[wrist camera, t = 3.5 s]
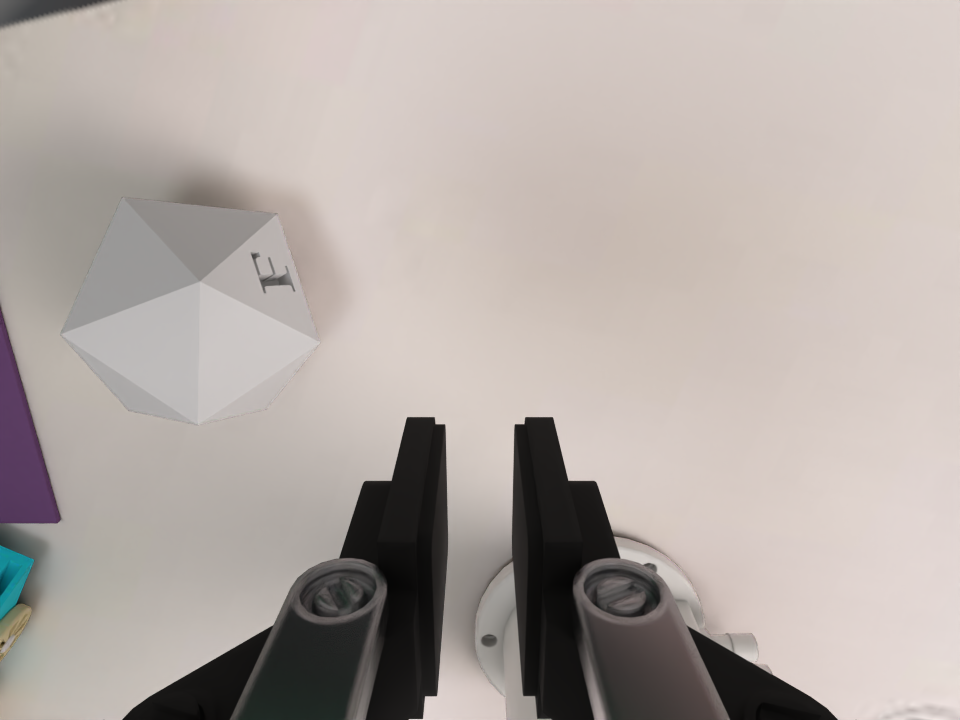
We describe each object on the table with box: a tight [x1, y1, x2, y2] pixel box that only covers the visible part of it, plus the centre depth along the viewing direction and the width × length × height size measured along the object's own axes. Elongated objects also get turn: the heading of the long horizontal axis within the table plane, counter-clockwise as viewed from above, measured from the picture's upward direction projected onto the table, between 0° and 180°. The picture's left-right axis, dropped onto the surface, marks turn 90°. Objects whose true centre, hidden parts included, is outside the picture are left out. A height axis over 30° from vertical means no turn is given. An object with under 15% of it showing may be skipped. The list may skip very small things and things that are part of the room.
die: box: [60, 197, 321, 425], centre depth 25 cm, size 8×9×10 cm
